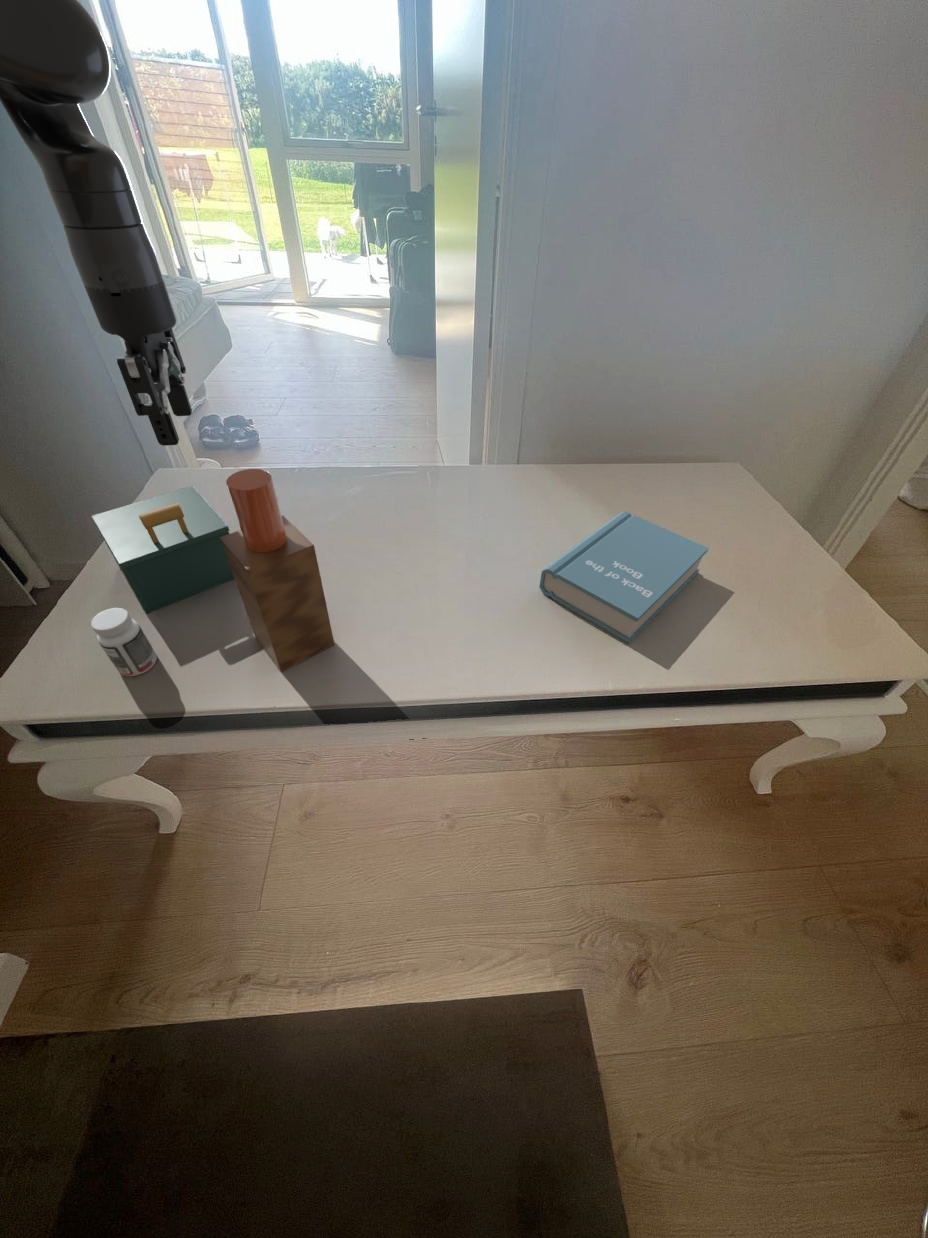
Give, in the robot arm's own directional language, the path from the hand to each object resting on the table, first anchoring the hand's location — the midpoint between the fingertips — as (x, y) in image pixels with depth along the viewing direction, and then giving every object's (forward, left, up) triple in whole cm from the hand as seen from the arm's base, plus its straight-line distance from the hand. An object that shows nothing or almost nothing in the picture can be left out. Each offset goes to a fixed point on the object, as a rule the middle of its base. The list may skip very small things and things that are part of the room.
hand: (177, 428), depth 66 cm
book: (+48, -39, -24) cm, 67 cm away
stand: (+1, -19, -24) cm, 31 cm away
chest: (-6, +6, -24) cm, 25 cm away
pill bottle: (-17, -10, -24) cm, 31 cm away
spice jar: (+1, -19, -7) cm, 20 cm away
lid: (-6, +6, -15) cm, 17 cm away
